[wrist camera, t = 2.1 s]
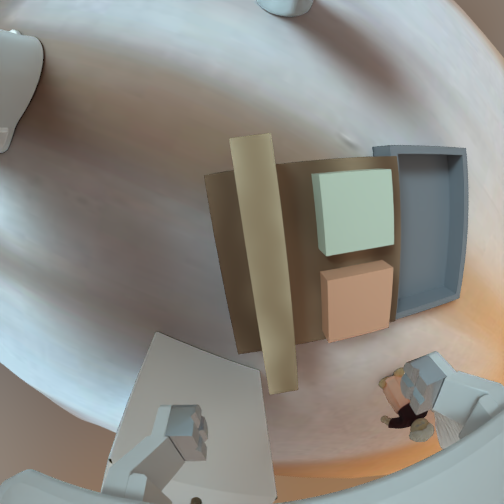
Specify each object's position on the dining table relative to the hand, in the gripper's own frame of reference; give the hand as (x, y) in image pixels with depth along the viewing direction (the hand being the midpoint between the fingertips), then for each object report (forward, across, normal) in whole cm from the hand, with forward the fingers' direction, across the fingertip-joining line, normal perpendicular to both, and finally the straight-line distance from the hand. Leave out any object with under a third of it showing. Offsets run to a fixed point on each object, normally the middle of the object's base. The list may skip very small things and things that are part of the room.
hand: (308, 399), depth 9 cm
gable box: (+19, +14, +20) cm, 31 cm away
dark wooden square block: (+19, -4, 0) cm, 19 cm away
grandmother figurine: (+19, -16, +23) cm, 34 cm away
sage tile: (+14, -7, -4) cm, 16 cm away
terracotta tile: (+14, -7, +4) cm, 16 cm away
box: (+19, -18, 0) cm, 26 cm away
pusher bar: (+14, 0, 0) cm, 14 cm away
